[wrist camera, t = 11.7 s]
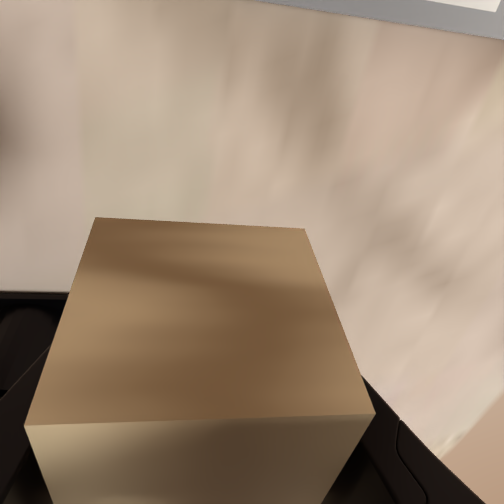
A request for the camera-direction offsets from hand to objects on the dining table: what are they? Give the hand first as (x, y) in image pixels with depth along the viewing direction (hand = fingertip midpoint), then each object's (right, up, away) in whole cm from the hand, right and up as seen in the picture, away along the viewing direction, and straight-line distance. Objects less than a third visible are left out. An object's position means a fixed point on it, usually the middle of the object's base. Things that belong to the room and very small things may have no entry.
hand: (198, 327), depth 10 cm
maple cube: (0, +1, +1) cm, 1 cm away
